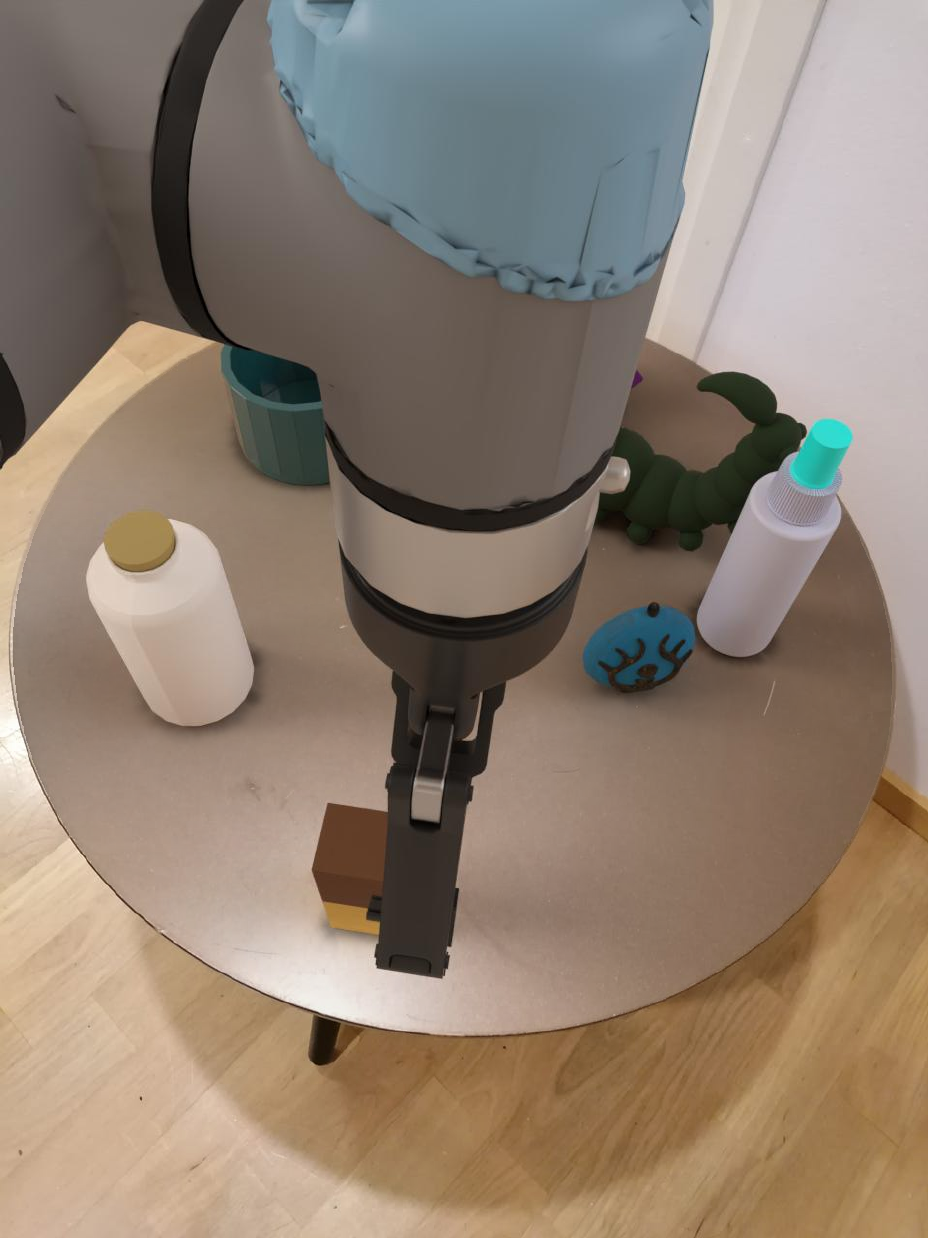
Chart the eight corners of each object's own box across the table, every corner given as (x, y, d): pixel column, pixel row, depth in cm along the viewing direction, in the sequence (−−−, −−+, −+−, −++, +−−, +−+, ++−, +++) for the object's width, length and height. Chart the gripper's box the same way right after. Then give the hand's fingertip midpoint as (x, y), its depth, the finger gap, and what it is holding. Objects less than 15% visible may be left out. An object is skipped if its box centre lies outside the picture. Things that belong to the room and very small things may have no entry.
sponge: (405, 939, 61) (401, 884, 51) (330, 927, 61) (311, 870, 51) (416, 879, 63) (413, 815, 53) (343, 868, 64) (327, 802, 53)
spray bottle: (770, 602, 76) (879, 404, 58) (771, 665, 73) (886, 477, 55) (696, 590, 77) (780, 391, 58) (693, 653, 74) (782, 463, 55)
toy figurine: (743, 525, 83) (491, 409, 86) (841, 369, 66) (526, 234, 70) (708, 604, 78) (444, 478, 82) (805, 457, 62) (469, 308, 65)
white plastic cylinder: (187, 619, 74) (124, 465, 59) (277, 661, 72) (237, 513, 57) (121, 703, 70) (36, 560, 54) (215, 750, 68) (154, 615, 53)
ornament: (584, 711, 70) (605, 642, 62) (570, 658, 73) (588, 586, 64) (689, 696, 71) (724, 627, 63) (672, 645, 74) (703, 571, 65)
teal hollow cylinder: (221, 474, 82) (200, 399, 74) (260, 372, 89) (245, 293, 81) (367, 494, 81) (361, 420, 74) (395, 389, 88) (392, 311, 81)
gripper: (552, 981, 21) (489, 1087, 39) (614, 270, 34) (546, 593, 52) (222, 928, 21) (311, 1058, 39) (411, 244, 34) (413, 574, 52)
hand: (445, 793), depth 46 cm, fingers open, 13 cm apart
